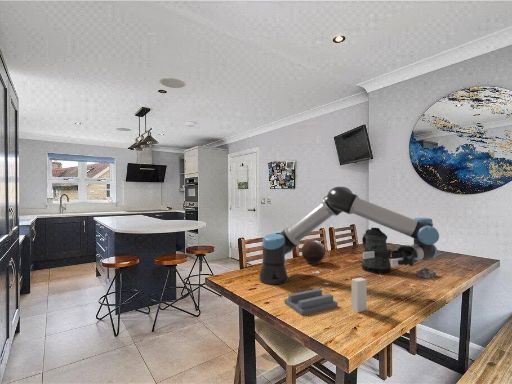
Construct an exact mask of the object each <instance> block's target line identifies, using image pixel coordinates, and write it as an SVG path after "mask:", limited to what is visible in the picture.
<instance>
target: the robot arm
mask: <svg viewBox="0 0 512 384" xmlns="http://www.w3.org/2000/svg"><path fill="white" fill-rule="evenodd" d="M341 213H345V214H348V215H352V214H353V215H356V216H358V217H360V218H364V219H366V220H368V221H369V222H370V221H371V222H373V223H376V224H378V225H380V226H383V227H385V228H388V229H391V230H392V231H395V232H397V233H400V234H402V235H405V236H406V237H410V238H411V239H413V244H408V245H402V246H399V247H398V249H394V250H391V249H388V248H387V250H369V252H364V251H363V252H362V260H363V259H368V258H374V257H388V258H389V260H390V264H391V268H393V267H394V268H395V267H399V266H408V265H409V267H413V266H414V265H415V263H417V262H422V261H429V260H431V259H434V258H436V257H437V255H438V252H439V251H438V248H437V247H436V245H435V244H436V243H437V242H438V241H439V239H440V234H439V233H440V232H439V230H437V228H435V227H434V224H433V219H432V218H429V217H415V218H410V217H408V216H406V215H403V214H400V213H398V212H396V211H393V210H390V209H387V208H385V207H382V206H380V205H377V204H375V203H372V202H369V201H367V200H364V199H363V198H362V199H361V198H360V197H359V195H357V194H355V193H353V192H352V190H351V189H350V188H348V187H346V186H336V187H333V188H331V189H329V191H328V192H327V195H326V196H324V197H323V198H322V202H321V203H320V204H319V205H318V206H316V207H315V208H314V209H313V210H312V211H310V212H309V213H307V214H306V215H305V216H304V217H303V218H301V219H300V220H299V221H297V223H295V224H293V225H292V227H290V228H284V229H283V230H282V231H281V232H280V233H270V234H266V235H264V236H263V238H262V245H261V246H262V265H261V270H260V273H259V276H258V278H259V279H258V280H259V282H261V283H264V284H267V285H283V284H285V283H287V282H288V281H289V280H288V279H289V276H288V272H287V270H286V266H285V265H286V264H285V262H286V261H285V255H287V254H290V253H291V252H292V251H293V250H294V249H295V248H296V247H298V246H299V245H300V241H301V240H302V239H304V238H305V237H307V236H308V235H309V234H310V233H312V231H314V230H315V229H317V228H318V227H319V226H321V225H322V224H324V222H326V221H328V219H330V218H331V217H333V216H335V217H337V216H339V215H340V214H341Z"/></svg>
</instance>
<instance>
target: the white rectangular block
mask: <svg viewBox="0 0 512 384" xmlns="http://www.w3.org/2000/svg"><path fill="white" fill-rule="evenodd" d="M367 283H368V282H367V279H365V278H363V277H357V278H352V279H351V301H350V302H351V311H353V312H356V313H361V312H364V311H367V307H368V306H367V300H368V299H367V296H368V295H367V290H368V287H367Z"/></svg>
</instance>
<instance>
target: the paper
mask: <svg viewBox="0 0 512 384" xmlns="http://www.w3.org/2000/svg"><path fill="white" fill-rule="evenodd" d="M315 271H316V272H315ZM315 271H312V273H314V274H317V273H318V274H317V275H319V273H320V271H318V270H315ZM324 284H326V285H329V284H330V282H324Z"/></svg>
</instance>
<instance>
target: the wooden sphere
mask: <svg viewBox="0 0 512 384" xmlns="http://www.w3.org/2000/svg"><path fill="white" fill-rule="evenodd" d="M301 254H302V255H301V256H302V258H303V259H304V260H305V261H306V262H307V263H309V264H318V263H320V262H321V261H323V259H324V258H325V255H326V251H325V246H324V245H323V244H322V243H321V242H320V241H319V240H316V239H315V240H314V239H309V240H308V241H305V242H304V244H303V245H302V247H301Z"/></svg>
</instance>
